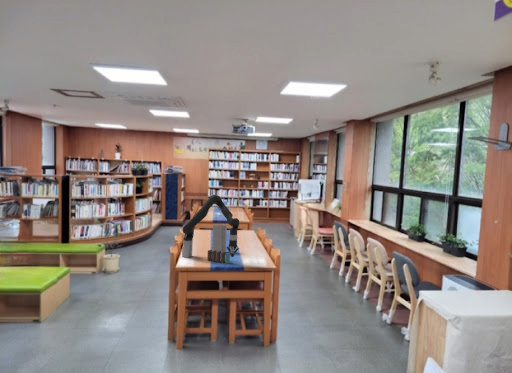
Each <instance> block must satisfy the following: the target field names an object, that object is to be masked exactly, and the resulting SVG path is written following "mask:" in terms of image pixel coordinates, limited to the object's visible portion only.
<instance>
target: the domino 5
mask: <svg viewBox="0 0 512 373" xmlns="http://www.w3.org/2000/svg"><path fill="white" fill-rule="evenodd" d="M230 258H231V252H226V253H225V262H224V263H225V265H227V264H230V262H231V261H230Z"/></svg>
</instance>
